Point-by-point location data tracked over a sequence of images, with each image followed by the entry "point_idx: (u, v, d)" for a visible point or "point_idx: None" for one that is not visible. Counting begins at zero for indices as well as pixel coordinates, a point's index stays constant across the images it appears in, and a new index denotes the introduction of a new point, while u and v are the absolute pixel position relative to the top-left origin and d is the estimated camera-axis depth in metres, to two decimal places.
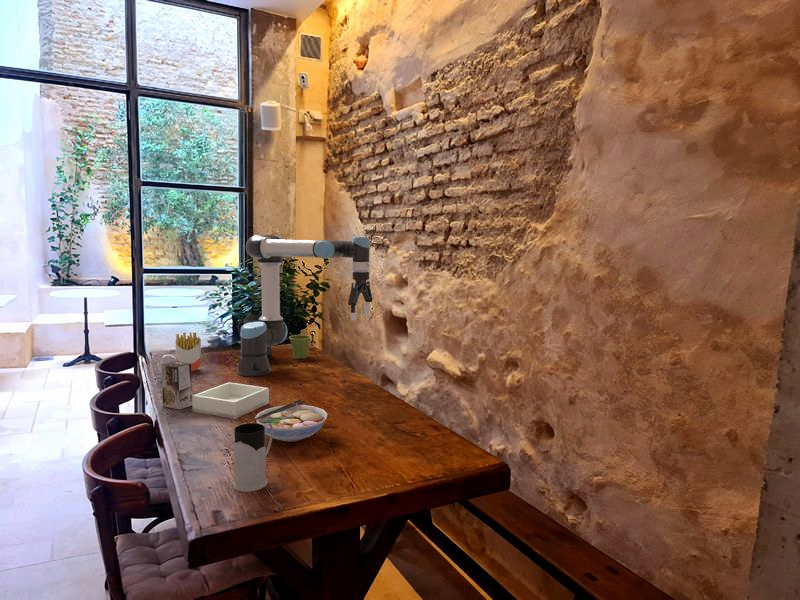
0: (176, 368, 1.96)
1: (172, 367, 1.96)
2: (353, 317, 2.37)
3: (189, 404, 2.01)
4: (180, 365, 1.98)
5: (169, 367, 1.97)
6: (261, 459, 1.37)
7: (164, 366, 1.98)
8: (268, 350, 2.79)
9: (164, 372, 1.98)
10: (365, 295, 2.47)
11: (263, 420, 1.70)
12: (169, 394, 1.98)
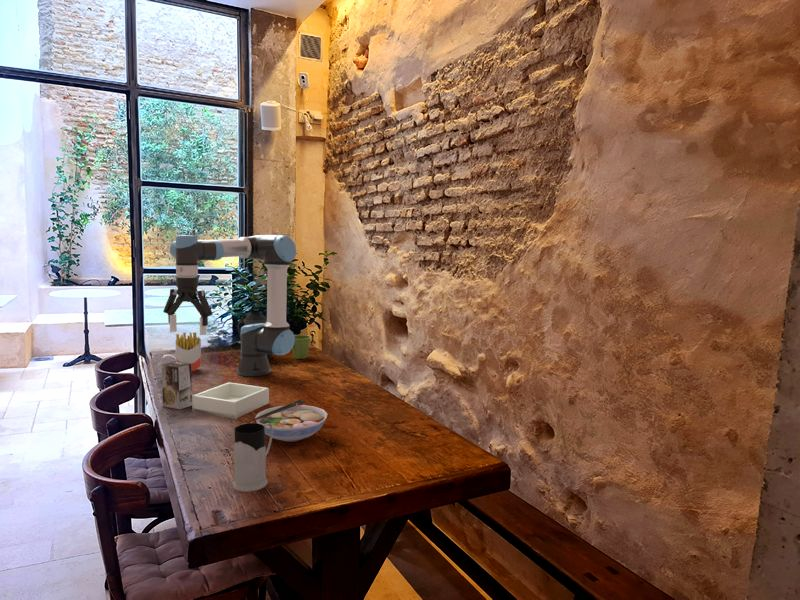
0: (176, 368, 1.96)
1: (172, 367, 1.96)
2: None
3: (189, 404, 2.01)
4: (180, 365, 1.98)
5: (169, 367, 1.97)
6: (261, 459, 1.37)
7: (164, 366, 1.98)
8: None
9: (164, 372, 1.98)
10: None
11: (263, 420, 1.70)
12: (169, 394, 1.98)
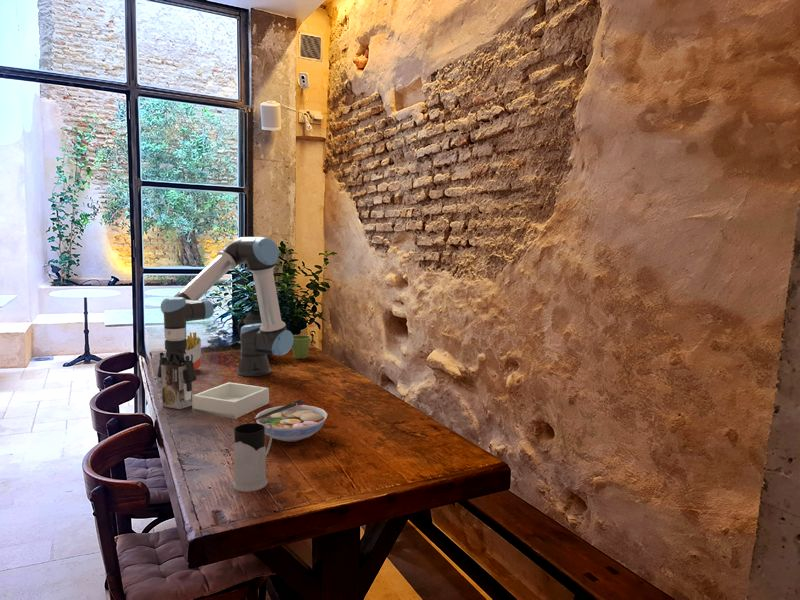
0: (176, 368, 1.96)
1: (172, 367, 1.96)
2: None
3: (189, 404, 2.01)
4: None
5: (169, 367, 1.97)
6: (261, 459, 1.37)
7: (164, 366, 1.98)
8: None
9: (164, 372, 1.98)
10: None
11: (263, 420, 1.70)
12: (169, 394, 1.98)
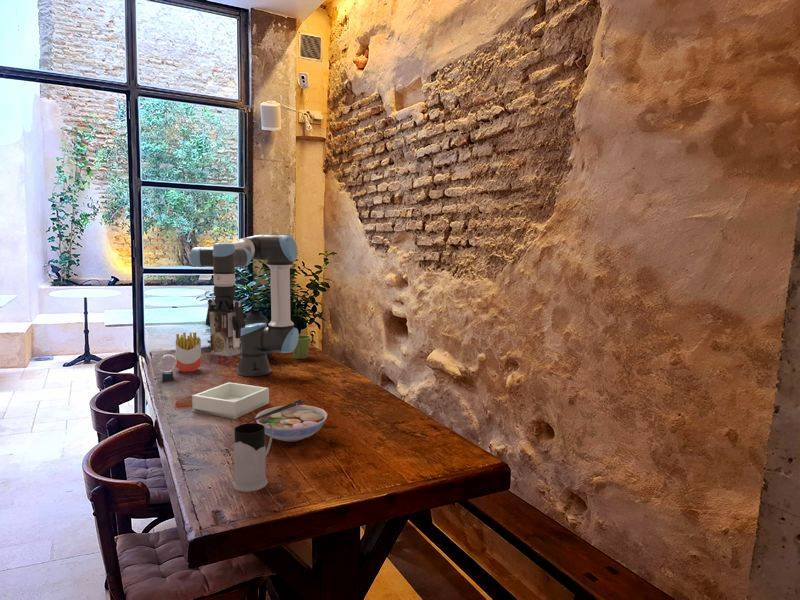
0: (225, 314, 1.93)
1: (221, 313, 1.93)
2: None
3: (237, 352, 1.98)
4: None
5: (218, 313, 1.94)
6: (261, 459, 1.37)
7: (213, 313, 1.95)
8: None
9: (213, 319, 1.95)
10: None
11: (263, 420, 1.70)
12: (218, 341, 1.95)
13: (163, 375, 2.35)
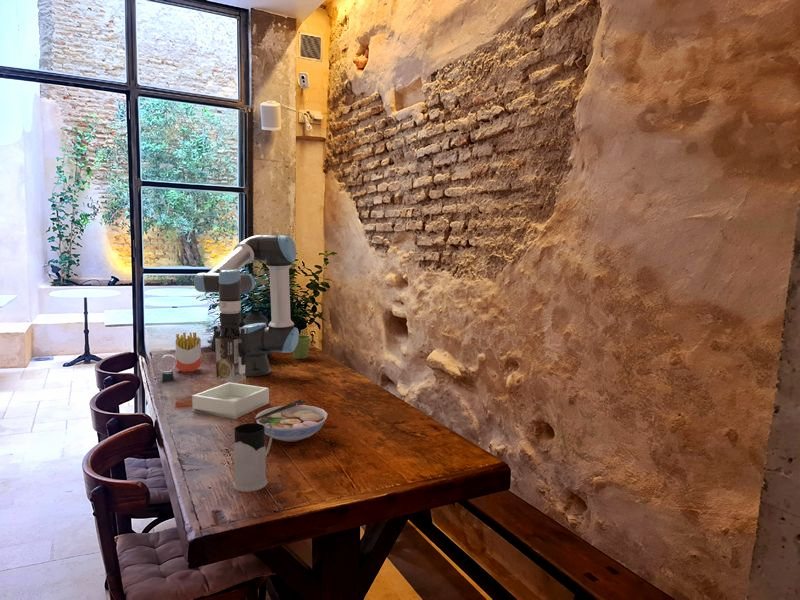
0: (231, 341, 1.94)
1: (227, 340, 1.94)
2: None
3: (243, 378, 1.99)
4: None
5: (224, 340, 1.95)
6: (261, 459, 1.37)
7: (218, 339, 1.96)
8: None
9: (218, 345, 1.96)
10: None
11: (263, 420, 1.70)
12: (224, 367, 1.96)
13: (163, 375, 2.35)
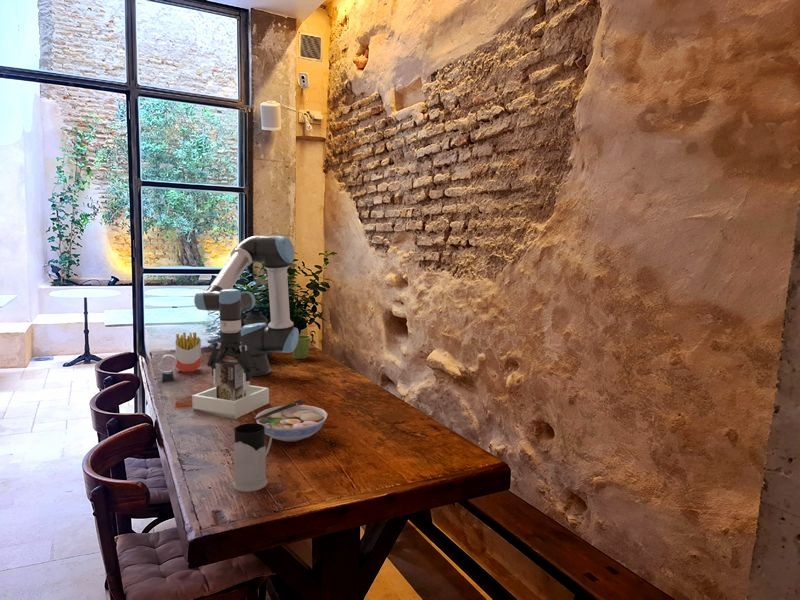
0: (232, 366, 1.95)
1: (228, 365, 1.96)
2: None
3: None
4: (235, 363, 1.97)
5: (224, 365, 1.96)
6: (261, 459, 1.37)
7: (219, 364, 1.97)
8: None
9: (219, 370, 1.98)
10: None
11: (263, 420, 1.70)
12: (224, 392, 1.97)
13: (163, 375, 2.35)
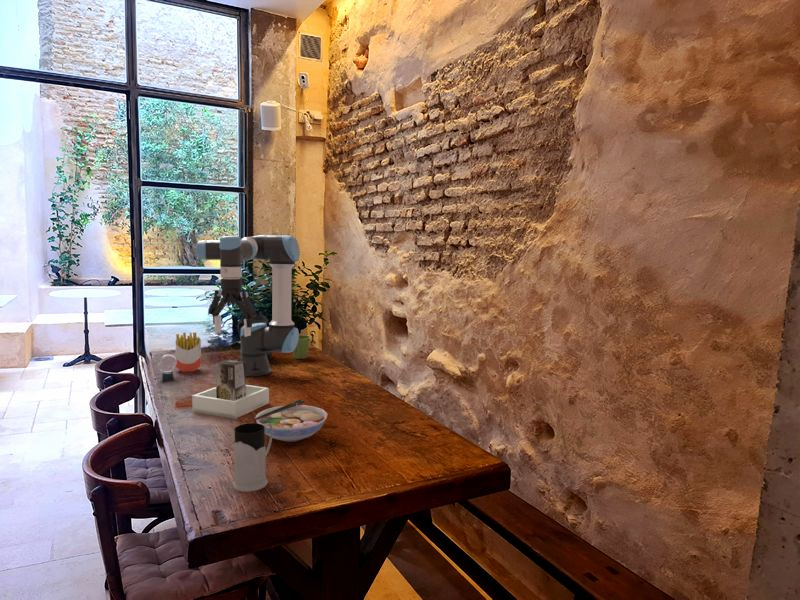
0: (232, 366, 1.95)
1: (228, 365, 1.96)
2: None
3: None
4: (235, 363, 1.97)
5: (224, 365, 1.96)
6: (261, 459, 1.37)
7: (219, 364, 1.97)
8: None
9: (219, 370, 1.97)
10: None
11: (263, 420, 1.70)
12: (224, 392, 1.97)
13: (163, 375, 2.35)
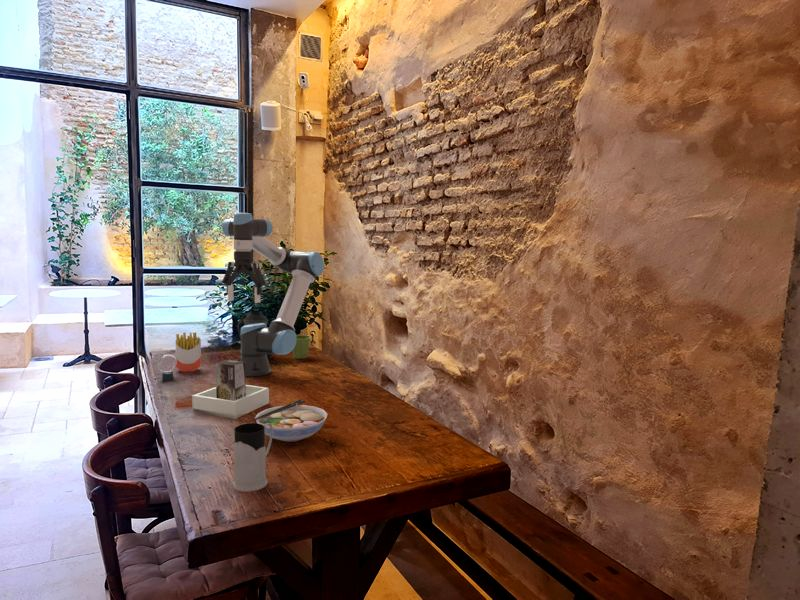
0: (232, 366, 1.95)
1: (228, 365, 1.96)
2: None
3: None
4: (235, 363, 1.97)
5: (224, 365, 1.96)
6: (261, 459, 1.37)
7: (219, 364, 1.97)
8: None
9: (219, 370, 1.97)
10: None
11: (263, 420, 1.70)
12: (224, 392, 1.97)
13: (163, 375, 2.35)
